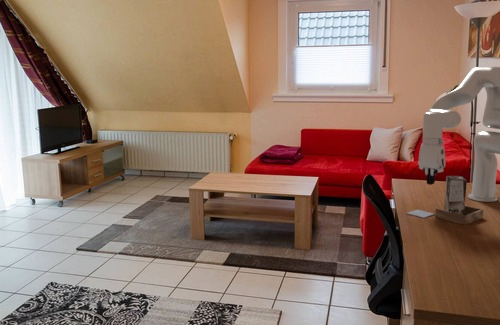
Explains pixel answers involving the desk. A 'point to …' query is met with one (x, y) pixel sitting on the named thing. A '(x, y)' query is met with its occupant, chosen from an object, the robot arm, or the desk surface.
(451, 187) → the coffee box
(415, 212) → the mat grey
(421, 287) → the desk surface
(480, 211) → the bay walnut
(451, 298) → the desk surface
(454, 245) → the desk surface
